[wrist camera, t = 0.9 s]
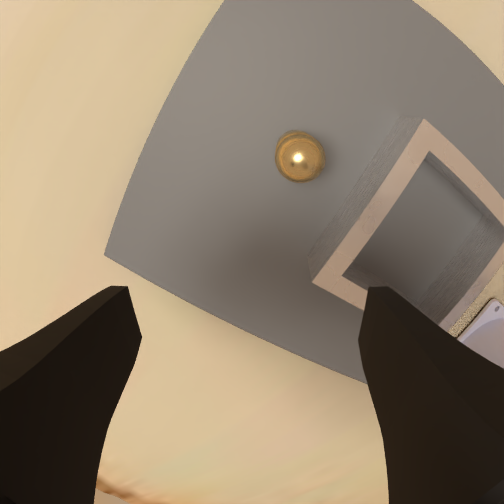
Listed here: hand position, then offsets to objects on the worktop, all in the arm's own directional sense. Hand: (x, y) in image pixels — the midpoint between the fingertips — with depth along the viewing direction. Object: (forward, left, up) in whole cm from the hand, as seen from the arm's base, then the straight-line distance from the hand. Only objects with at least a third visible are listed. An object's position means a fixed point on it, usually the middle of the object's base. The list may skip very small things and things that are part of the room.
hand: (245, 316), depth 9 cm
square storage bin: (-8, -4, -8) cm, 12 cm away
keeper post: (0, -4, -9) cm, 10 cm away
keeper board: (-4, -4, -9) cm, 11 cm away
